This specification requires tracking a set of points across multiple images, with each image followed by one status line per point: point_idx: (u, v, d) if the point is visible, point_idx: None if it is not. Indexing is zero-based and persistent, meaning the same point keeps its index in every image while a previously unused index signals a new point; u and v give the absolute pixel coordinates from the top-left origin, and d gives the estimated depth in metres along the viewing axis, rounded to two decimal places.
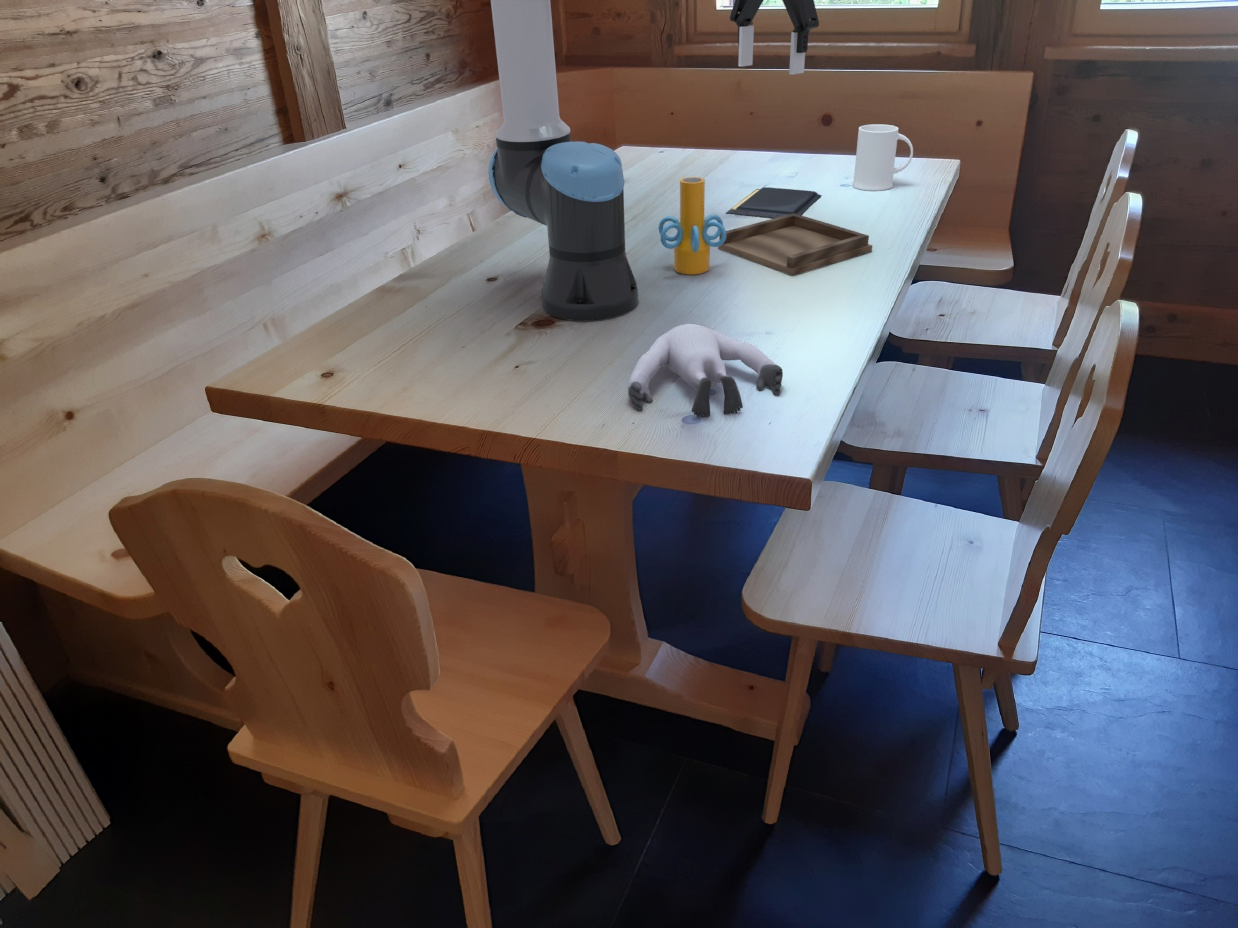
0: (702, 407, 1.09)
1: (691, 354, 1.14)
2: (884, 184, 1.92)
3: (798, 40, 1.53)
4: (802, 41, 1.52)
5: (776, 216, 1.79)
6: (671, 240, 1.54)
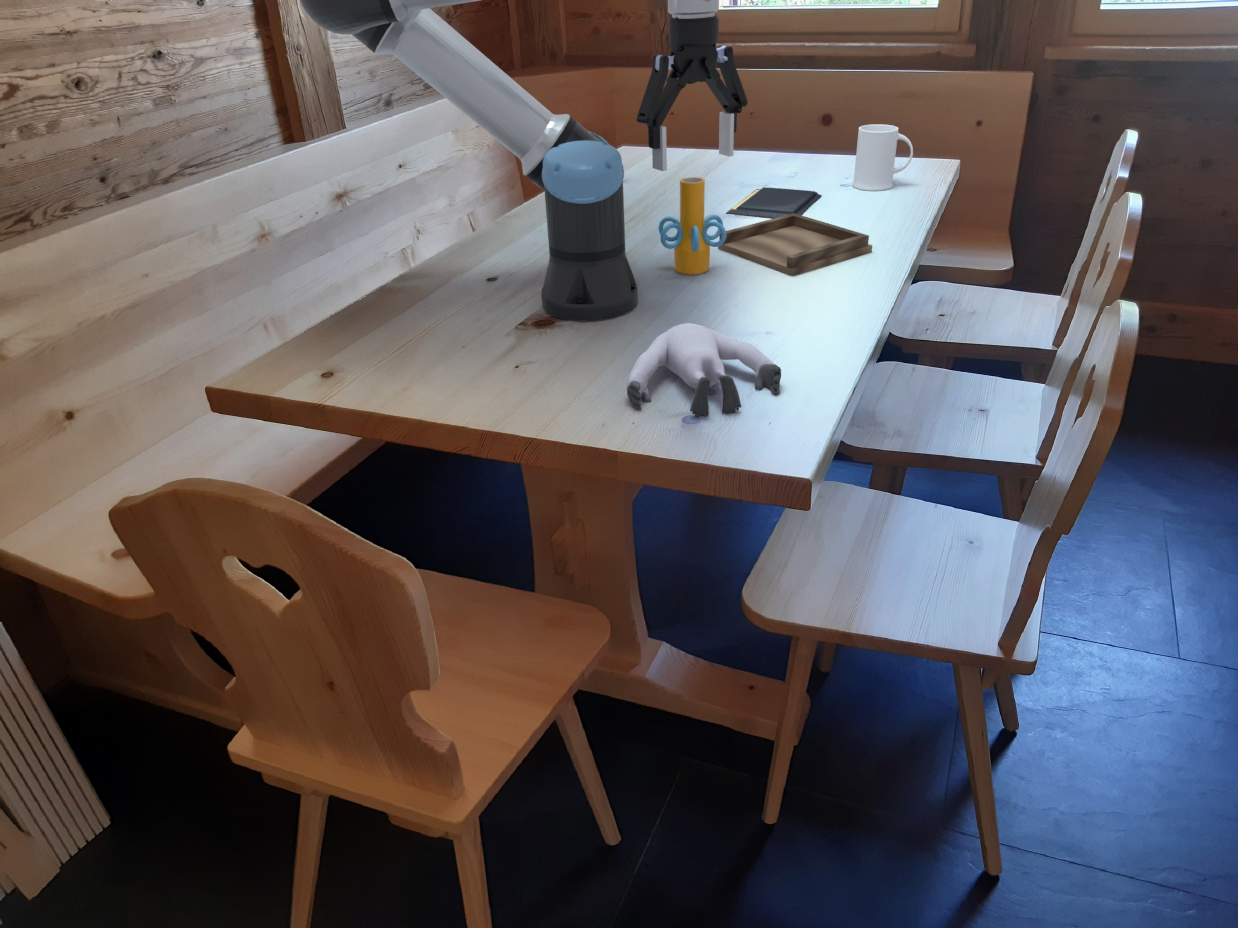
0: (700, 406, 1.09)
1: (690, 354, 1.14)
2: (884, 184, 1.92)
3: None
4: (649, 135, 1.40)
5: (776, 216, 1.78)
6: (671, 240, 1.54)
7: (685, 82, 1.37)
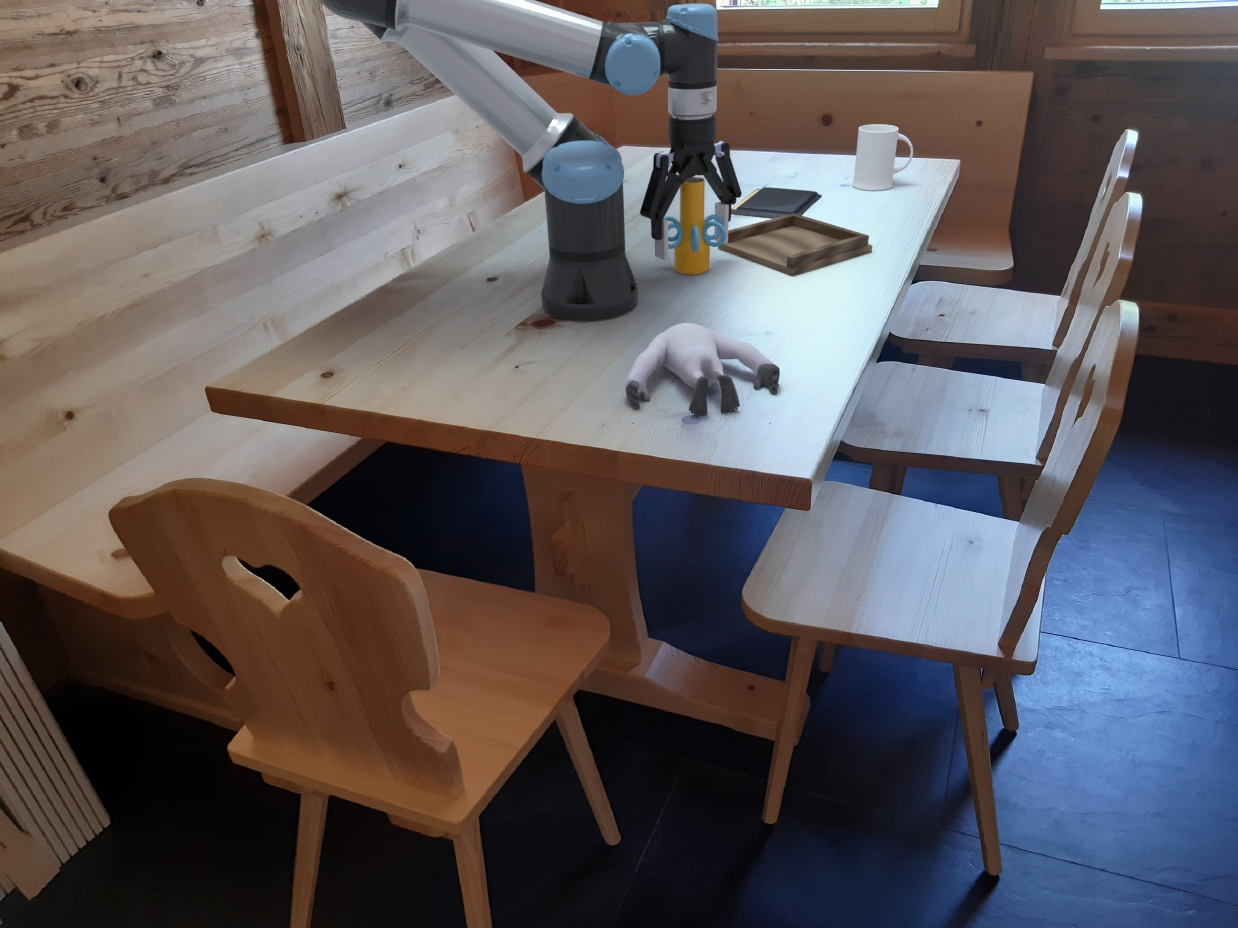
0: (699, 405, 1.09)
1: (689, 353, 1.14)
2: (884, 184, 1.92)
3: None
4: (651, 227, 1.47)
5: (776, 216, 1.78)
6: (671, 240, 1.54)
7: (684, 177, 1.44)
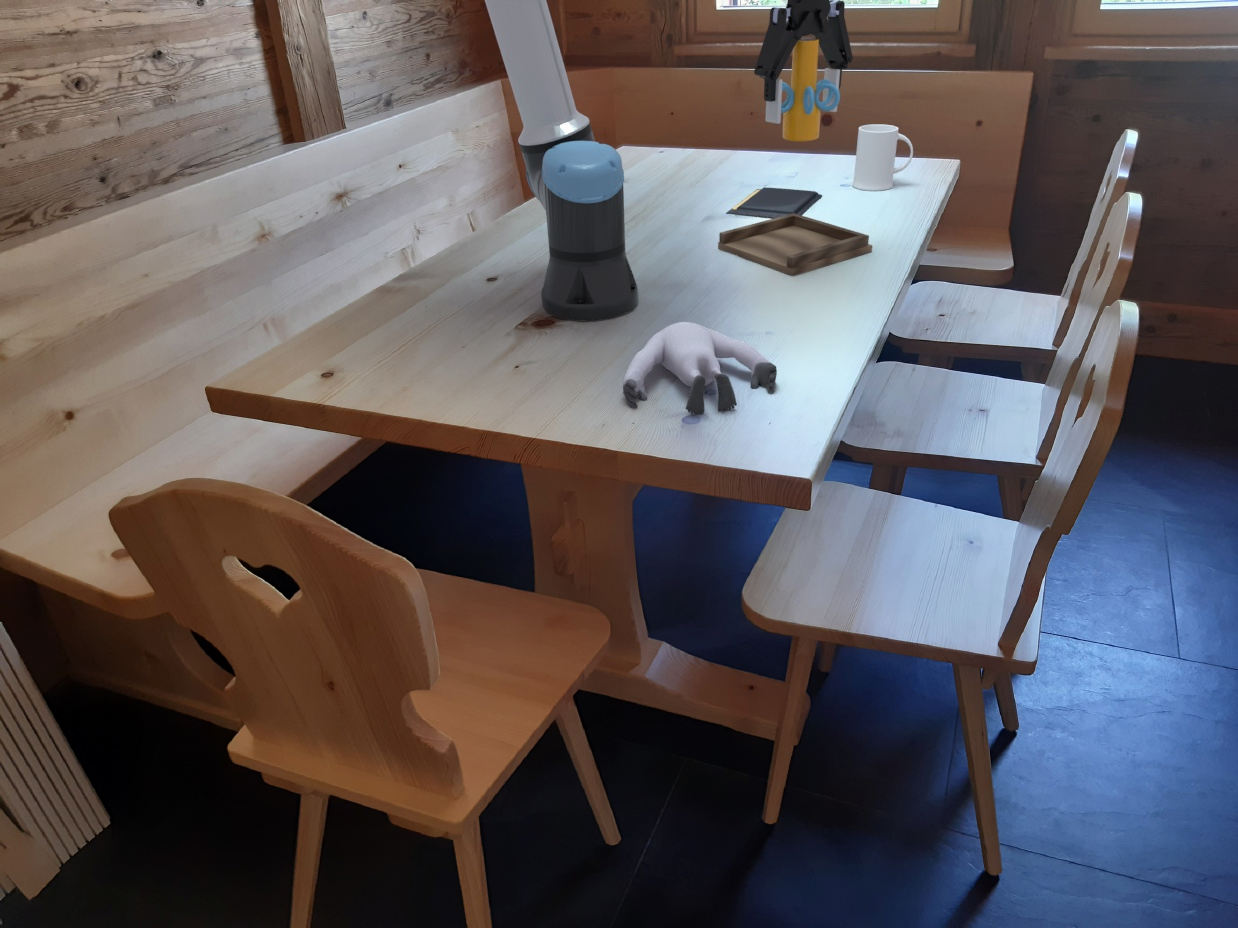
0: (696, 404, 1.10)
1: (686, 352, 1.14)
2: (884, 184, 1.92)
3: None
4: (765, 88, 1.44)
5: (776, 216, 1.78)
6: None
7: (800, 34, 1.41)
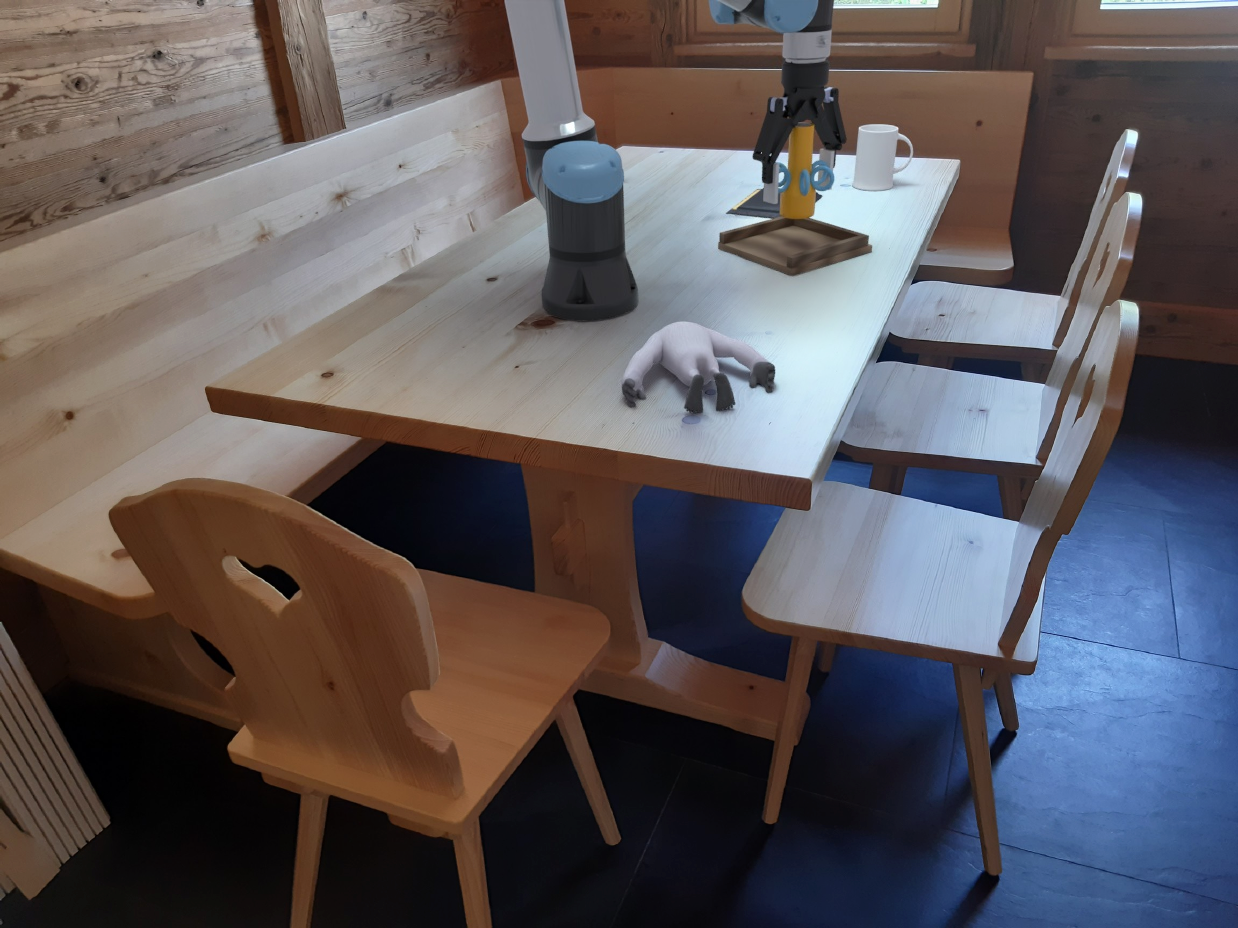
0: (695, 403, 1.10)
1: (685, 352, 1.15)
2: (884, 184, 1.92)
3: None
4: (762, 171, 1.51)
5: (776, 216, 1.78)
6: None
7: (796, 121, 1.47)
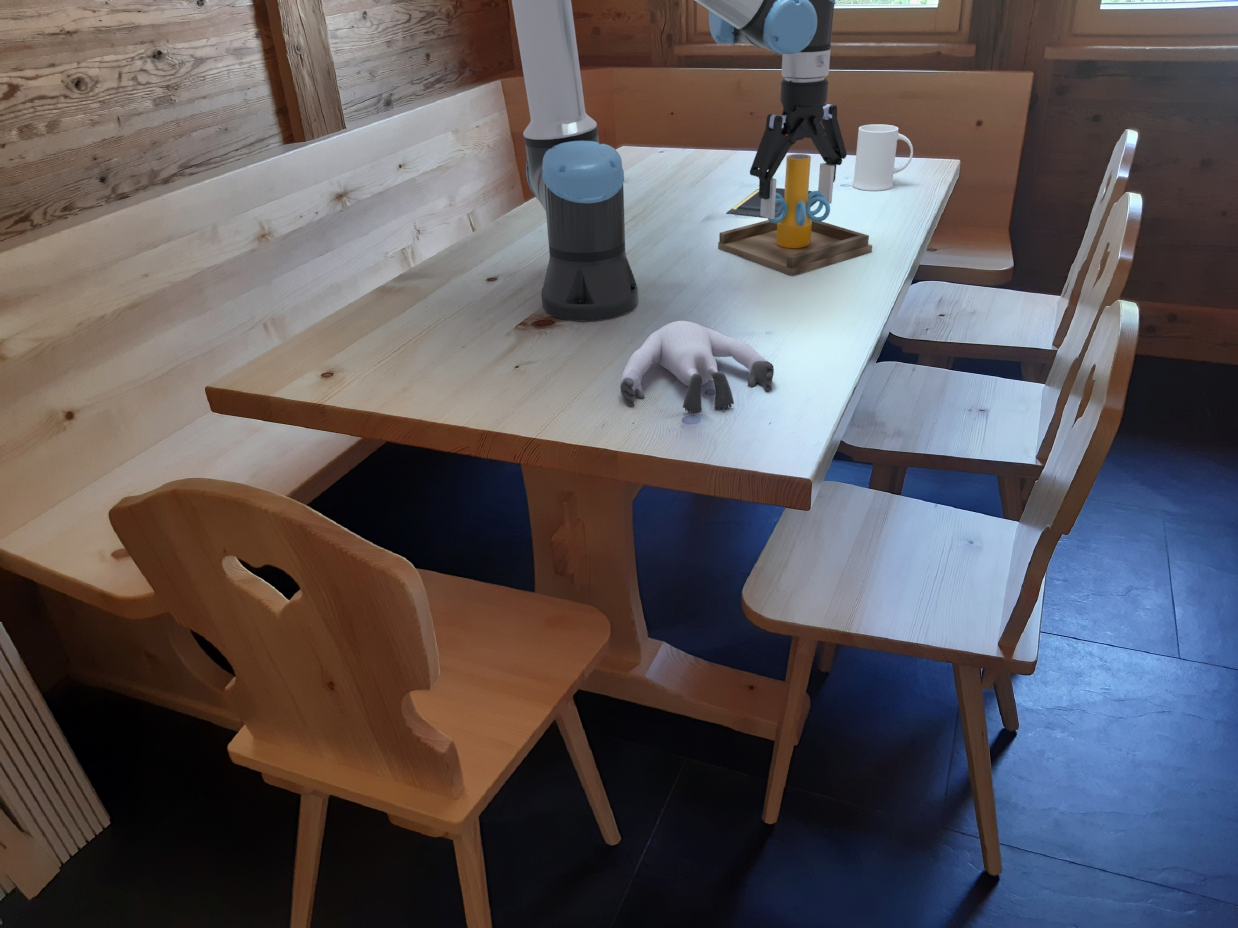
0: (693, 402, 1.10)
1: (683, 351, 1.15)
2: (884, 184, 1.92)
3: None
4: (760, 187, 1.52)
5: None
6: None
7: (795, 139, 1.49)
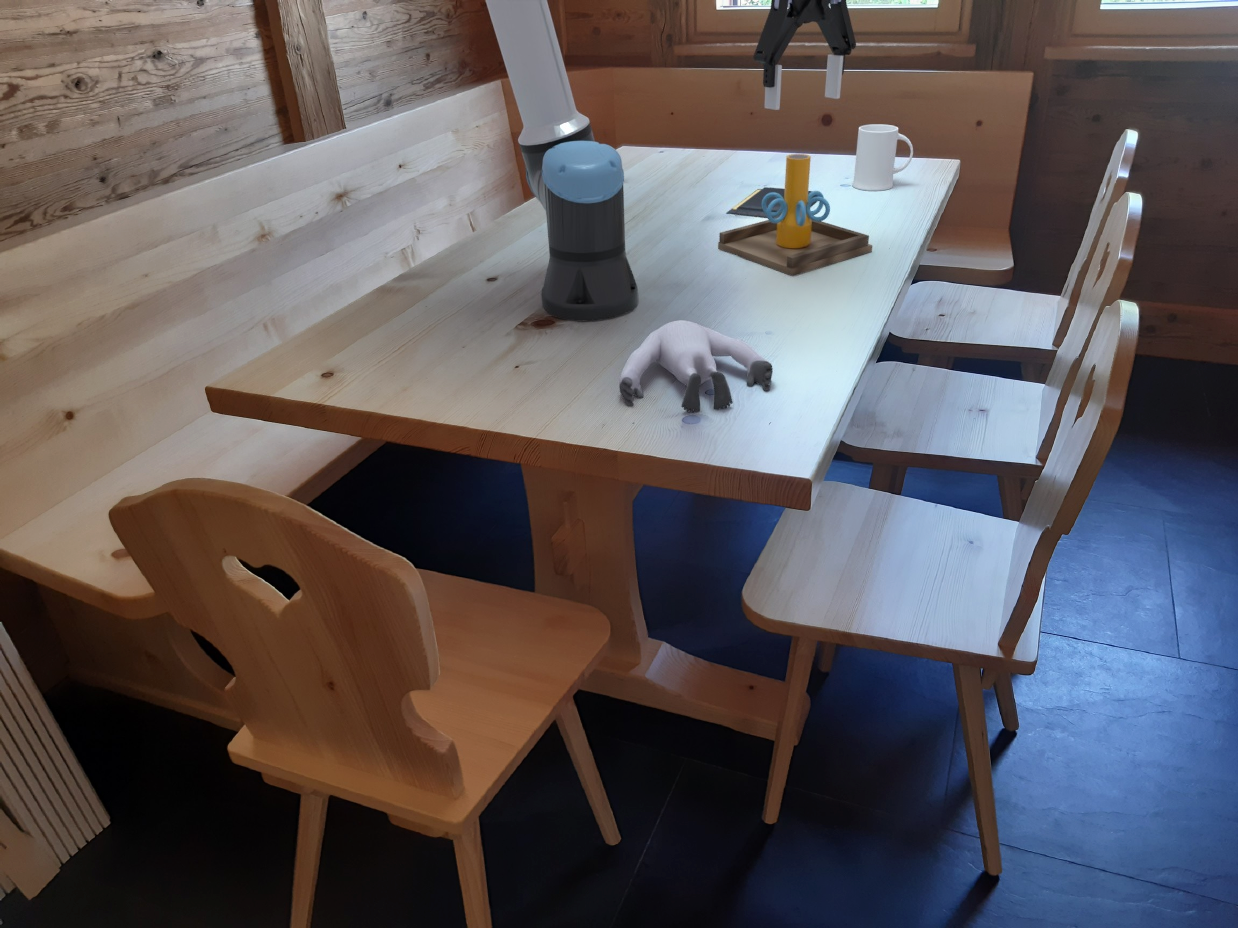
0: (692, 402, 1.10)
1: (682, 350, 1.15)
2: (884, 184, 1.92)
3: None
4: (764, 74, 1.43)
5: None
6: (774, 215, 1.60)
7: (802, 21, 1.40)
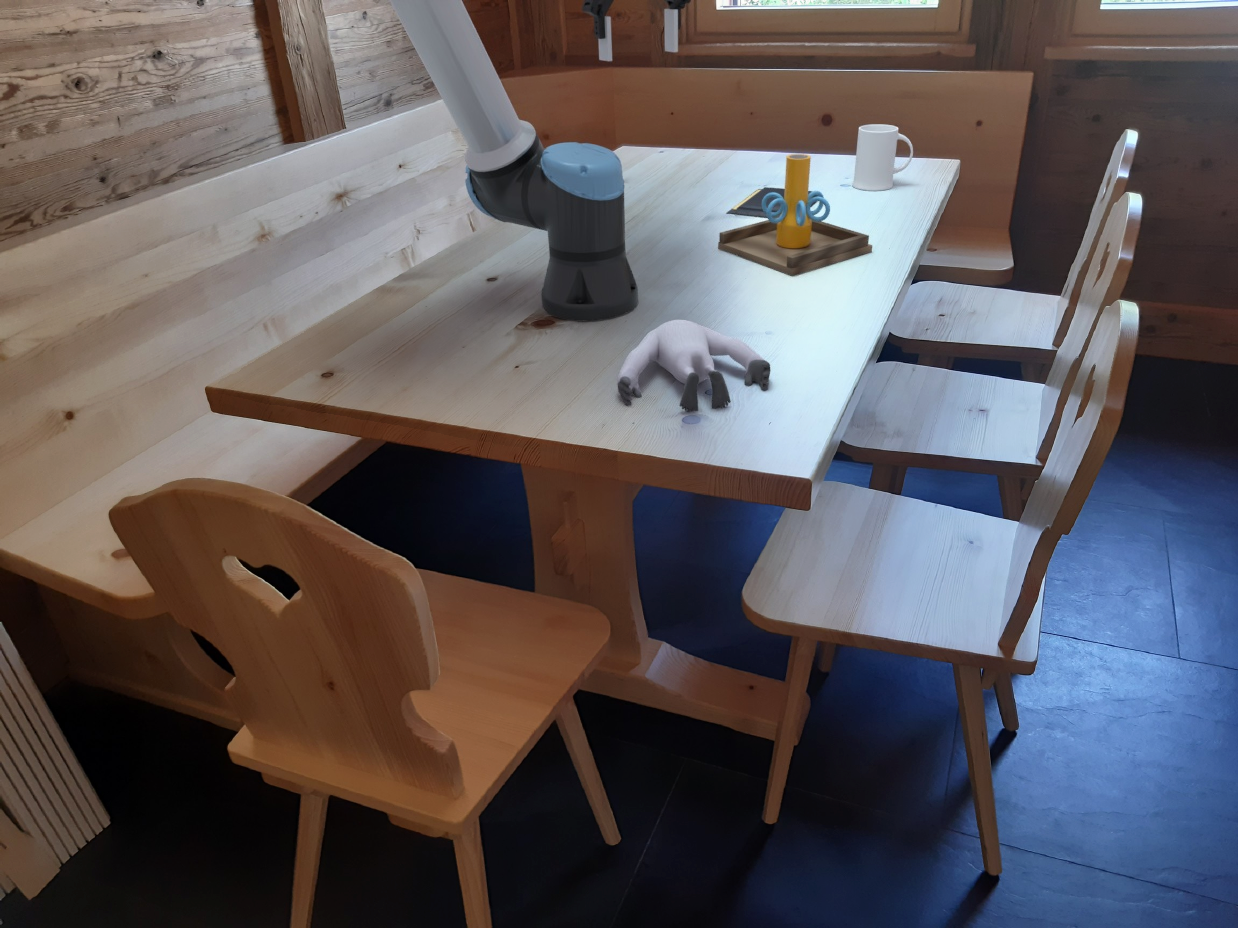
0: (690, 401, 1.11)
1: (680, 350, 1.15)
2: (884, 184, 1.92)
3: None
4: (594, 26, 1.47)
5: None
6: (774, 215, 1.60)
7: None
